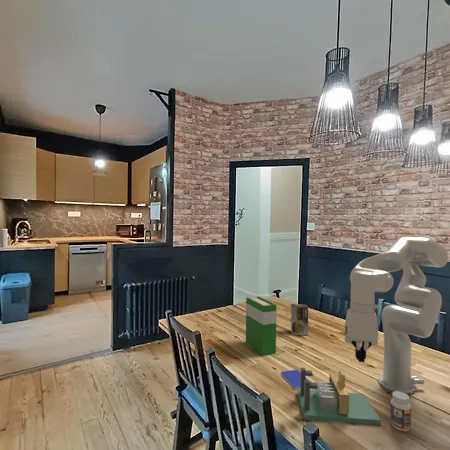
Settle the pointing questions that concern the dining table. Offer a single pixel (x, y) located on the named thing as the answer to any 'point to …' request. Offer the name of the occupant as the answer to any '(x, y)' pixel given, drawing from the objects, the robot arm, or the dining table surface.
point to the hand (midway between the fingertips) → (360, 360)
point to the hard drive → (292, 378)
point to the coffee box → (299, 319)
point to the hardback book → (261, 325)
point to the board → (311, 411)
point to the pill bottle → (400, 411)
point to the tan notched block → (341, 391)
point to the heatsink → (327, 396)
